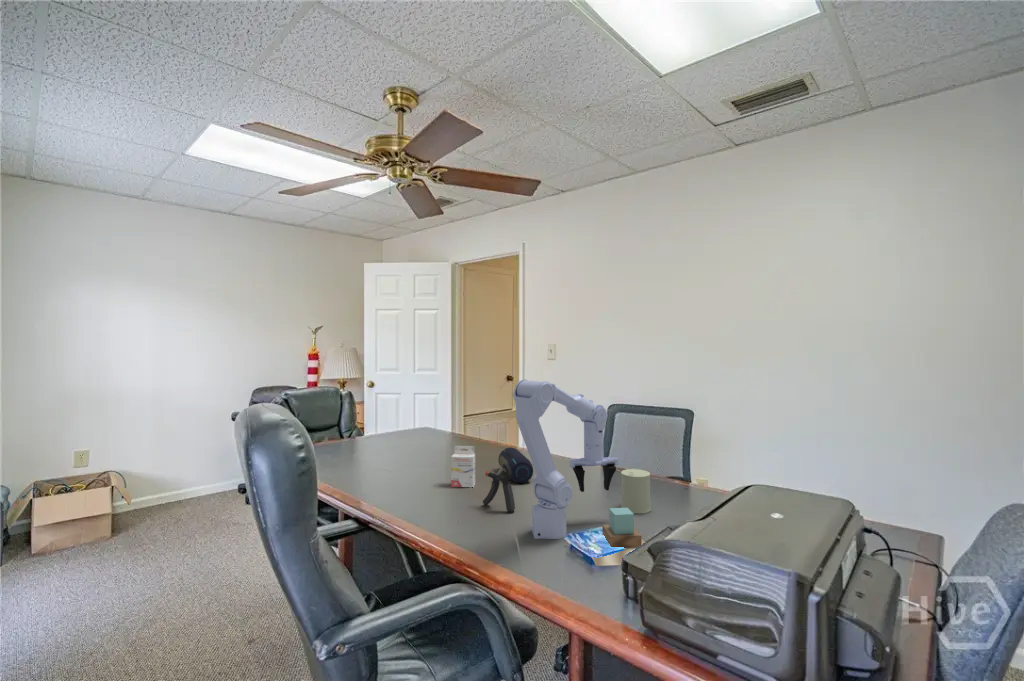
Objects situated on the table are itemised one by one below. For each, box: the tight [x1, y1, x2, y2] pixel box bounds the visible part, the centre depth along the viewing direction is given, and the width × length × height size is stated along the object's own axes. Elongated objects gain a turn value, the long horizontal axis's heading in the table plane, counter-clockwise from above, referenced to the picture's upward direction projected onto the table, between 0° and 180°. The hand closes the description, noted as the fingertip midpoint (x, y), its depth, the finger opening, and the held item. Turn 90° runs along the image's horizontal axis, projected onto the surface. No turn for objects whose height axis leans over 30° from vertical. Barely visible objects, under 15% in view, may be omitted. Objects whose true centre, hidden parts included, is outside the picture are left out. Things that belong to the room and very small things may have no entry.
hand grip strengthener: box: [482, 463, 516, 514], centre depth 155 cm, size 2×12×15 cm, turn 51°
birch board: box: [591, 538, 646, 567], centre depth 122 cm, size 16×18×1 cm
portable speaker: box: [497, 447, 534, 484], centre depth 192 cm, size 25×10×10 cm, turn 13°
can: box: [620, 468, 652, 515], centre depth 154 cm, size 9×9×12 cm
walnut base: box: [601, 524, 643, 548], centre depth 126 cm, size 8×8×3 cm
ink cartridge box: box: [450, 445, 476, 488], centre depth 180 cm, size 9×5×15 cm, turn 84°
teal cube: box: [608, 507, 635, 534], centre depth 126 cm, size 5×5×5 cm
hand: (594, 490), depth 143 cm, fingers open, 7 cm apart
